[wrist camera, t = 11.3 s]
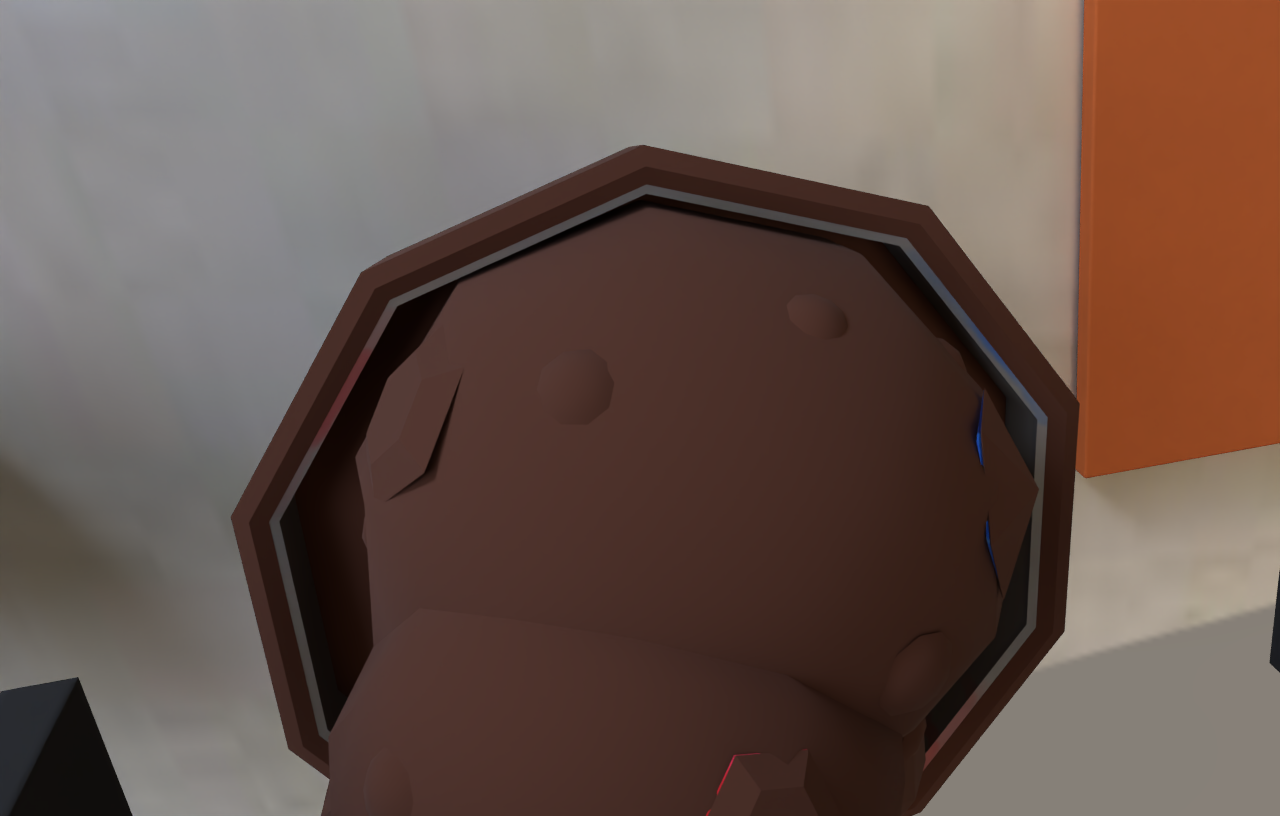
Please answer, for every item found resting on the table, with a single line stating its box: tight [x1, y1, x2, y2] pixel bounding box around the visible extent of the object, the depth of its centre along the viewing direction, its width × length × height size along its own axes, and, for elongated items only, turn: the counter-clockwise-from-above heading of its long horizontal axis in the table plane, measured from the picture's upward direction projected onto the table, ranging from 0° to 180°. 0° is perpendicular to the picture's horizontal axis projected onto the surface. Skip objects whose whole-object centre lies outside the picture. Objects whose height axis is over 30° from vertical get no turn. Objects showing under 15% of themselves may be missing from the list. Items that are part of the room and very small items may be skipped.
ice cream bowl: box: [231, 145, 1080, 816], centre depth 17 cm, size 11×11×15 cm
